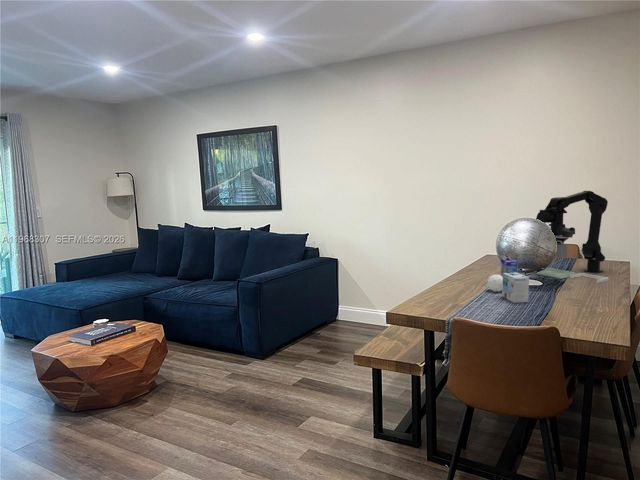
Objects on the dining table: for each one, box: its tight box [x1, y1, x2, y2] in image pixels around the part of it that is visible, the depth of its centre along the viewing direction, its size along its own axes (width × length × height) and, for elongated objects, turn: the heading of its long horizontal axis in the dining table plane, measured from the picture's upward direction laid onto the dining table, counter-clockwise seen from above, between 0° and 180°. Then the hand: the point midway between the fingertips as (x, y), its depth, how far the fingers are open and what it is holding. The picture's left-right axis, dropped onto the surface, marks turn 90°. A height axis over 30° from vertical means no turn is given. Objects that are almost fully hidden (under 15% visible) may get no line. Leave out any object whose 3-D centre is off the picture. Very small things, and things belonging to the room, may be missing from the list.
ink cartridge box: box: [500, 254, 519, 277], centre depth 225 cm, size 10×6×14 cm, turn 174°
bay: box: [569, 272, 610, 284], centre depth 232 cm, size 10×14×2 cm
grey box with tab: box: [555, 240, 568, 259], centre depth 242 cm, size 5×9×9 cm, turn 28°
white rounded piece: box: [487, 274, 503, 293], centre depth 212 cm, size 8×8×12 cm
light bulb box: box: [501, 272, 530, 304], centre depth 199 cm, size 11×7×11 cm, turn 5°
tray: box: [534, 267, 576, 280], centre depth 244 cm, size 11×15×2 cm
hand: (555, 251), depth 242 cm, fingers closed on grey box with tab, 5 cm apart
